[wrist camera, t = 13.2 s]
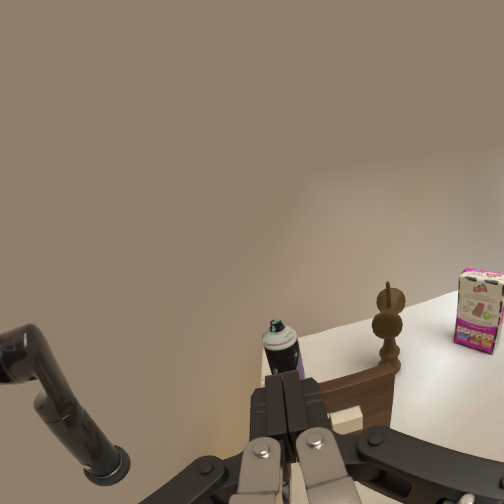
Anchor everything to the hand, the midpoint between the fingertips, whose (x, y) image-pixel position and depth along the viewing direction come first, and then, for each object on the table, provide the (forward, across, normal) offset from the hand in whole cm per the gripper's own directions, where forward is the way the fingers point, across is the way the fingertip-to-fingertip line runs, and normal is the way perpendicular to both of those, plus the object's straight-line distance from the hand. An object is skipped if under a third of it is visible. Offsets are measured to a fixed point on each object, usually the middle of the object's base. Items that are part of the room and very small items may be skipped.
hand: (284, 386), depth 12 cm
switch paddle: (+14, -5, +24) cm, 28 cm away
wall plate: (+18, -5, +32) cm, 37 cm away
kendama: (+32, -19, +32) cm, 49 cm away
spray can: (+28, +1, +32) cm, 43 cm away
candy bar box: (+28, -41, +32) cm, 59 cm away
